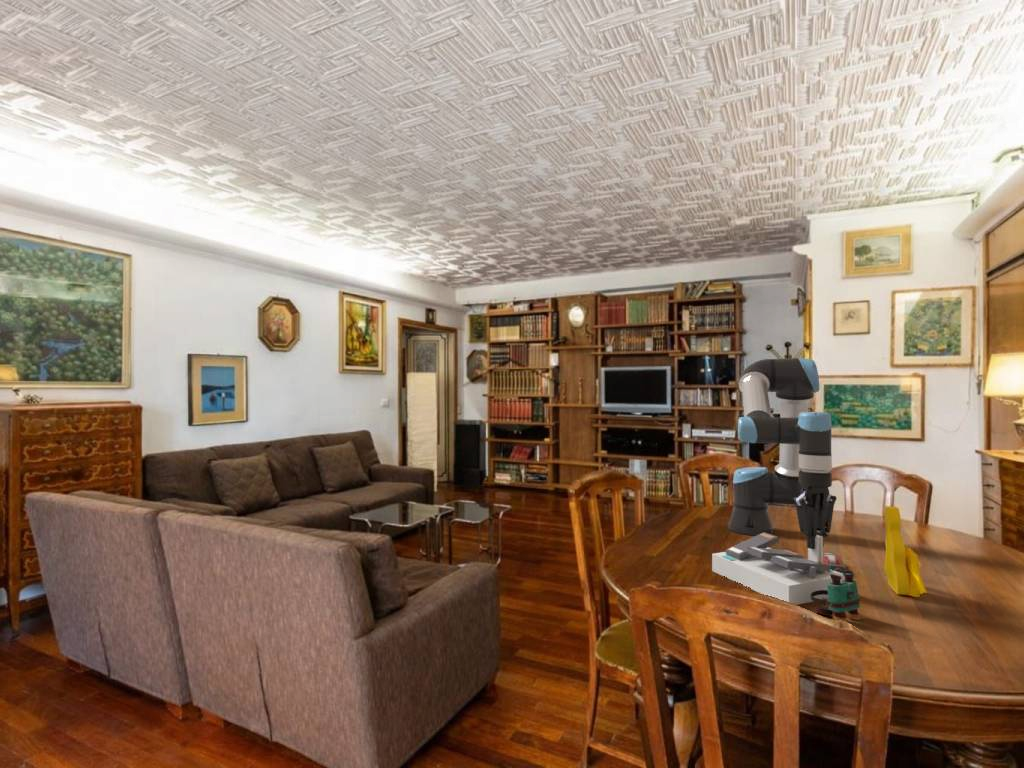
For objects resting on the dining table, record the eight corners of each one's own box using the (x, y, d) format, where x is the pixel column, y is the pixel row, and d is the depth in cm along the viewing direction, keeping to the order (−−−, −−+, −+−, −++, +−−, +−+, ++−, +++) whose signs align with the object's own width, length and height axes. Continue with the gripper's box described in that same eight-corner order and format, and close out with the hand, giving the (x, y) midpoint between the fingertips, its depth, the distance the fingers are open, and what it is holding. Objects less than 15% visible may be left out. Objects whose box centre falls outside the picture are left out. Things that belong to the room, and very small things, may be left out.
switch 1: (764, 537, 153) (763, 531, 153) (778, 542, 148) (777, 536, 148) (726, 555, 148) (725, 549, 147) (739, 560, 143) (738, 554, 143)
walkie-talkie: (806, 560, 159) (814, 582, 141) (806, 546, 159) (814, 566, 141) (839, 564, 156) (852, 587, 138) (839, 549, 156) (852, 570, 138)
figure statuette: (936, 608, 123) (935, 516, 124) (897, 603, 126) (896, 514, 126) (907, 582, 140) (906, 501, 140) (873, 578, 143) (873, 499, 143)
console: (764, 562, 156) (764, 536, 156) (846, 594, 132) (846, 564, 132) (712, 570, 149) (712, 544, 149) (788, 606, 125) (788, 574, 125)
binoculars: (823, 563, 127) (864, 572, 118) (828, 607, 126) (870, 619, 117) (798, 568, 123) (839, 577, 114) (802, 613, 122) (844, 627, 113)
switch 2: (787, 556, 145) (788, 549, 145) (802, 561, 140) (803, 555, 141) (746, 552, 140) (747, 546, 140) (761, 558, 135) (762, 551, 135)
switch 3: (812, 565, 138) (813, 558, 138) (830, 571, 133) (830, 564, 133) (770, 561, 132) (771, 555, 133) (787, 568, 128) (788, 561, 128)
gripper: (820, 467, 141) (821, 553, 140) (783, 469, 136) (783, 559, 136) (846, 471, 134) (847, 562, 133) (808, 473, 129) (809, 568, 129)
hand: (815, 560), depth 134 cm, fingers closed, pressing on switch 3
